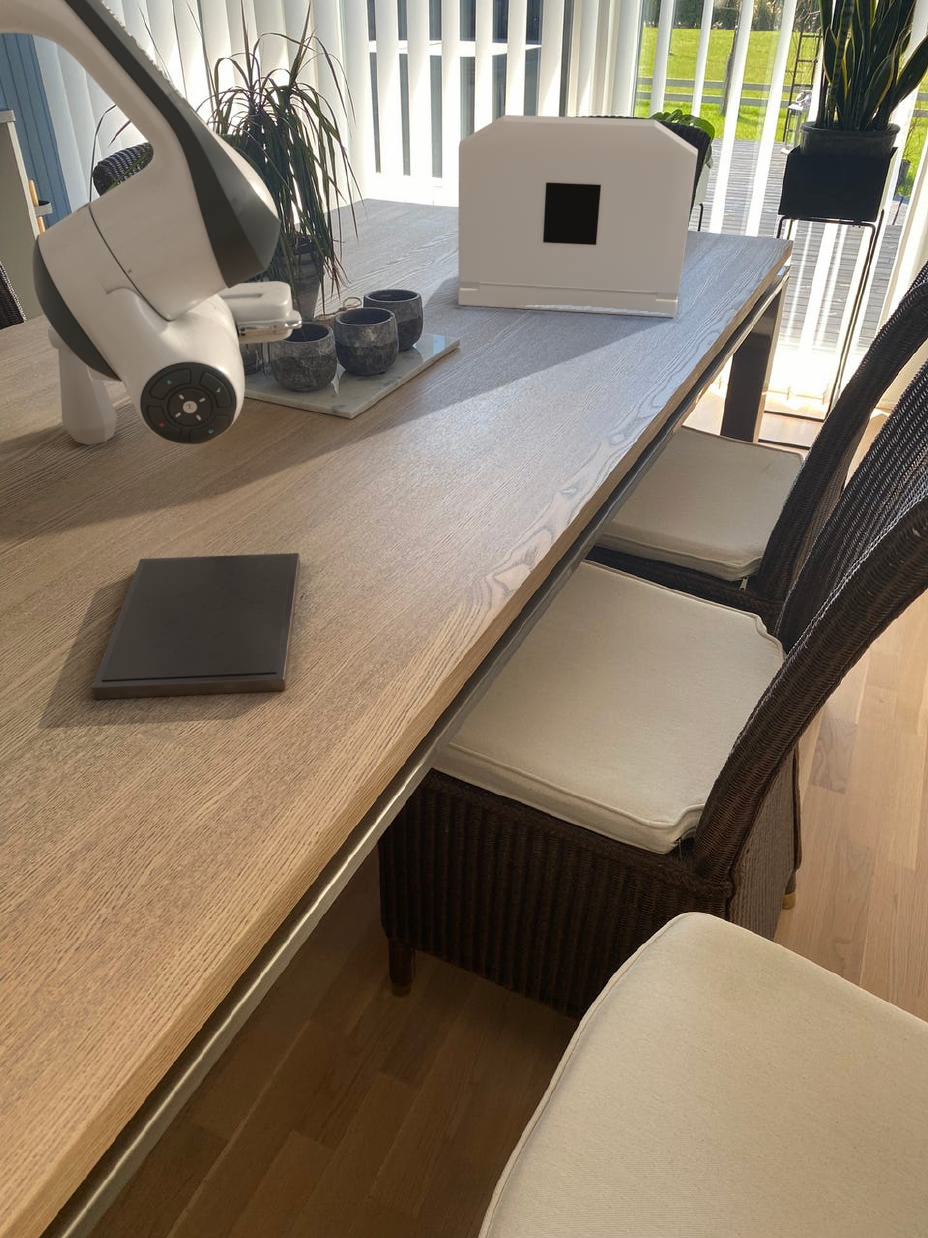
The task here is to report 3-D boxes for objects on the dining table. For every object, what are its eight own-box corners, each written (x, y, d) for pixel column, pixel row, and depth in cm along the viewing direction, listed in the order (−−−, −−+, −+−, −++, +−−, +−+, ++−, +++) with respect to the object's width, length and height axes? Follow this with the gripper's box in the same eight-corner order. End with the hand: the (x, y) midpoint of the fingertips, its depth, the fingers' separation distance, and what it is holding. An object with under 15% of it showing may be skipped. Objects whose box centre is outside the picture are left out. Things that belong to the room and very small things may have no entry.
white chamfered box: (675, 274, 162) (697, 99, 147) (675, 318, 143) (702, 122, 127) (482, 264, 167) (485, 93, 152) (458, 305, 147) (458, 114, 132)
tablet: (94, 700, 70) (90, 686, 69) (142, 569, 85) (139, 557, 84) (285, 691, 71) (283, 677, 70) (300, 563, 86) (299, 551, 85)
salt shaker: (63, 449, 105) (33, 333, 97) (70, 428, 109) (41, 316, 102) (118, 445, 106) (92, 329, 98) (123, 424, 110) (98, 312, 103)
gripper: (301, 292, 83) (285, 251, 94) (54, 308, 79) (67, 263, 89) (308, 362, 87) (291, 315, 97) (72, 381, 82) (82, 329, 93)
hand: (182, 290), depth 93 cm, fingers closed on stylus, 3 cm apart
